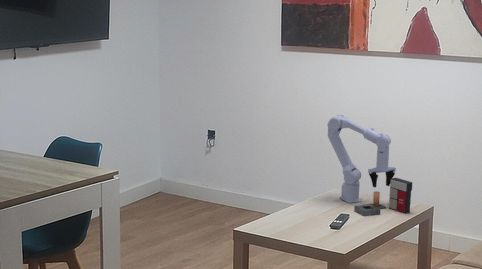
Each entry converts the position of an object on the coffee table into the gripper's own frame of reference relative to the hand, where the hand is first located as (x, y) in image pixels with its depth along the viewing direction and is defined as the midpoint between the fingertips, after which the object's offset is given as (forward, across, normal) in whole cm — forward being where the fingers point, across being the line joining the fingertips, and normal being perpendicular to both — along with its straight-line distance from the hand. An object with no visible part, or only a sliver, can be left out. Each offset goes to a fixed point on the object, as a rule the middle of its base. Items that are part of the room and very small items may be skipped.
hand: (381, 186), depth 384 cm
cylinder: (+9, -4, -3) cm, 10 cm away
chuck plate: (+9, -13, -10) cm, 19 cm away
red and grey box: (+10, +4, -11) cm, 15 cm away
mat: (+9, -4, -3) cm, 11 cm away
